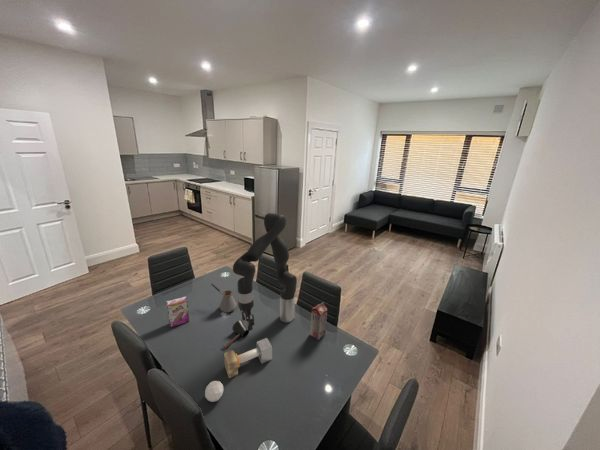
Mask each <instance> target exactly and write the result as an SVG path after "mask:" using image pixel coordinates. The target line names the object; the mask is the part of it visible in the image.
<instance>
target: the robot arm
mask: <svg viewBox="0 0 600 450" xmlns="http://www.w3.org/2000/svg"><path fill="white" fill-rule="evenodd" d="M263 224H264V229H265V232H266V233H265V234H262V235H261V236H260V237H258V238H257V239H255V240H254V242H253V243H252V244H251V245H250V247H249V249H248V250H247V251H246V252H244V253H243V254H242V255H241V256H240V257H238V258H237V259H236V260H235V262H234V263H233V265H232V271H233V273H234V274H235V275H238V276H241V278H239V279H238V280H237V303H238V304H237V306H238V308H239V310H240V313H241V320H242V321H243V322H244V321H246V323H247V325H246V326H247V330H248V331H249V332H251V331H252V330H253V326H255V318H254V317H255V316H254V314H253V312H252V309H253V308H254V306H255V300H254V298H255V297H254V289H253V288H254V287H253V281H254V277H255V273H256V266H255V264H254V263H255V262H256V263H257V262H259V260H260V259H261V257H262V256H263V254H264V252H265V251H266V250H267V249H268V246H271V251H272V256H273V260H274V263H275V268H276V278H277V282H278V283H279V285H280V286H282V287H284V288H282V289H281V290H280V293H279V320H280V321H281V322H283V323H291V322H292V321H294V319H296V317H295V316H296V306H295V295H296V292H297V283H298V282H297V281H298V280H297V276H296V275H294V274H293V273H290V272H289V271H288V269H287V266H286V265H287V263H288V261H289V258H290V252H289V248H288V245H287V244H286V243H285V241H284V239H283V238H282V237H281V235H280V234H281V233H282V232H283V231H284V230H285V228H286V224H287V218H286V216H285V215H283V214H279V213H275V212H274V213H272V212H270V213H266V215H265V216H264V219H263ZM252 262H254V263H252Z"/></svg>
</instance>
